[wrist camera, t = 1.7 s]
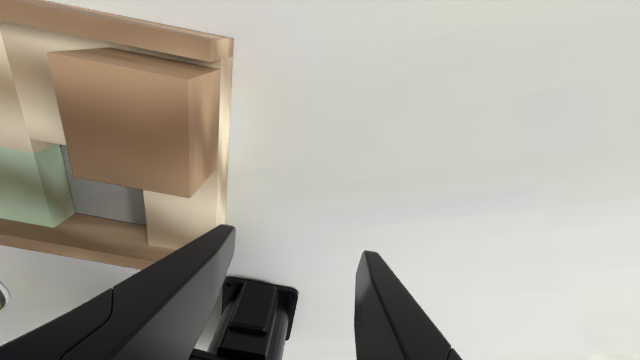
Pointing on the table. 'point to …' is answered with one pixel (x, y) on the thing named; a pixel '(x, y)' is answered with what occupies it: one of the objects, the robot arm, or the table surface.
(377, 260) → the robot arm
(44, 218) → the box
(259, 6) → the table surface
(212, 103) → the block
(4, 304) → the supplement bottle
